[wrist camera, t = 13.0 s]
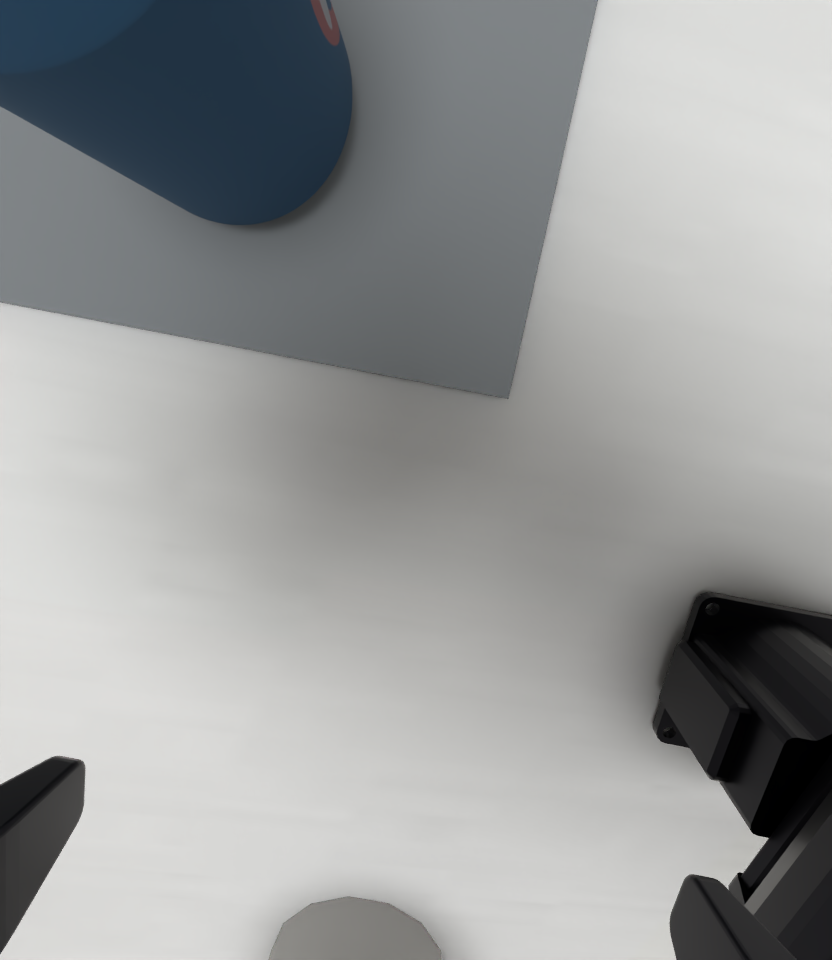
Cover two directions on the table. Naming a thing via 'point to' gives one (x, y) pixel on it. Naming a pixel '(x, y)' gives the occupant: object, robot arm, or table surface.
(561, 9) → the rubber mat
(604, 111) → the table surface
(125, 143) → the soda can
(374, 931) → the cup
